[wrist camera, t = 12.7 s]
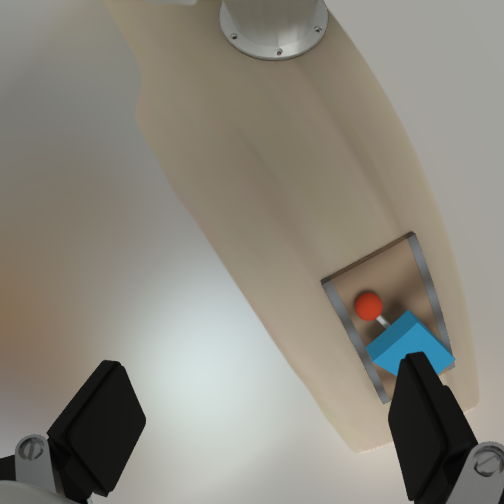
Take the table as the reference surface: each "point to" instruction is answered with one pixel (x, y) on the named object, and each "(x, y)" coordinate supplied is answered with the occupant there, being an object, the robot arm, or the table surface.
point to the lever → (400, 338)
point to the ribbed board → (387, 300)
